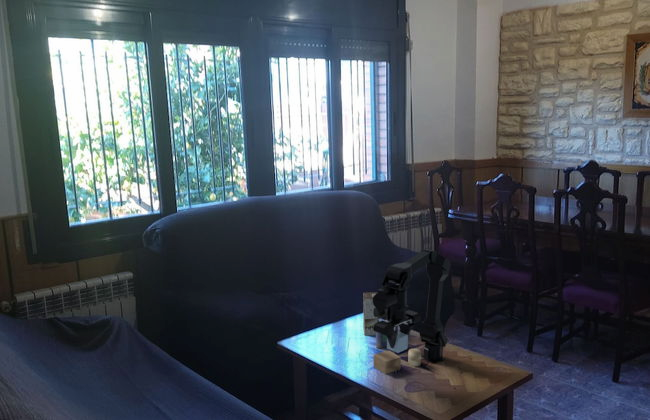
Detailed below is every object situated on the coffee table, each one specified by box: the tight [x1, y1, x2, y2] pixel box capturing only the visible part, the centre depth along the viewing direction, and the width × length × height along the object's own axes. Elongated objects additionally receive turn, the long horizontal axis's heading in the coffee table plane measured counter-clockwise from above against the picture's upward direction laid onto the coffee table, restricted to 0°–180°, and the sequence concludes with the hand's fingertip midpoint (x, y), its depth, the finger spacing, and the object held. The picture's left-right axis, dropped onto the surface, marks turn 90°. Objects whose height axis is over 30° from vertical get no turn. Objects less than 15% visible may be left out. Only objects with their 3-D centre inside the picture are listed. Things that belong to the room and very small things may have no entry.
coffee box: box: [362, 291, 380, 336], centre depth 233 cm, size 9×6×16 cm
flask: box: [375, 319, 399, 350], centre depth 218 cm, size 9×3×11 cm, turn 109°
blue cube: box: [386, 331, 409, 354], centre depth 189 cm, size 5×5×5 cm
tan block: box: [373, 349, 402, 375], centre depth 200 cm, size 7×7×5 cm
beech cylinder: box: [407, 348, 422, 367], centre depth 203 cm, size 5×5×5 cm
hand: (397, 345), depth 189 cm, fingers closed on blue cube, 5 cm apart
